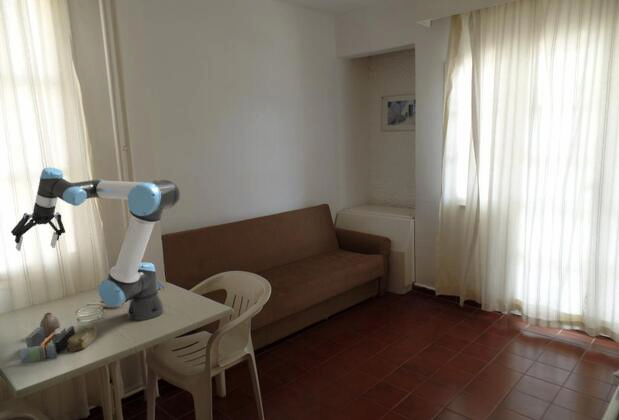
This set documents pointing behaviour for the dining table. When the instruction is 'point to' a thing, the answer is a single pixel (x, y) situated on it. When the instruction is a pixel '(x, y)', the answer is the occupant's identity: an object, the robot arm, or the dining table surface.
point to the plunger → (59, 339)
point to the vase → (49, 324)
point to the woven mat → (159, 286)
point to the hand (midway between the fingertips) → (35, 247)
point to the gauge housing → (37, 347)
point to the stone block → (82, 339)
